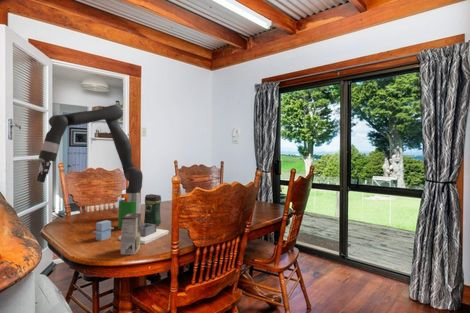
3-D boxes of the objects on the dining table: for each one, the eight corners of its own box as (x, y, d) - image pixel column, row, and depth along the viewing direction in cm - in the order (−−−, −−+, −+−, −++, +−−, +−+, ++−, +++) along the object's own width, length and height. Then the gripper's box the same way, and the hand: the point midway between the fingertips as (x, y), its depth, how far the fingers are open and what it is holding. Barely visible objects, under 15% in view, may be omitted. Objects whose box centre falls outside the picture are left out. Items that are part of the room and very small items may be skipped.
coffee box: (126, 247, 127) (127, 212, 127) (140, 247, 127) (141, 213, 127) (119, 254, 118) (120, 217, 118) (135, 254, 118) (136, 217, 118)
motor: (138, 226, 162) (139, 193, 162) (128, 230, 154) (129, 195, 153) (124, 224, 165) (125, 191, 165) (113, 228, 157) (114, 193, 157)
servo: (108, 235, 144) (108, 219, 144) (113, 236, 142) (114, 220, 142) (92, 241, 134) (92, 223, 134) (98, 242, 133) (98, 224, 133)
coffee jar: (162, 224, 169) (163, 194, 169) (153, 227, 162) (154, 196, 162) (151, 222, 173) (151, 192, 173) (141, 224, 166) (142, 194, 166)
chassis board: (144, 229, 156) (144, 220, 156) (168, 233, 151) (168, 223, 151) (118, 239, 137) (119, 228, 137) (145, 244, 132) (145, 232, 132)
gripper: (60, 152, 141) (51, 183, 138) (55, 153, 151) (46, 182, 149) (43, 149, 136) (33, 181, 133) (39, 149, 146) (29, 179, 144)
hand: (40, 181), depth 141 cm, fingers open, 8 cm apart
